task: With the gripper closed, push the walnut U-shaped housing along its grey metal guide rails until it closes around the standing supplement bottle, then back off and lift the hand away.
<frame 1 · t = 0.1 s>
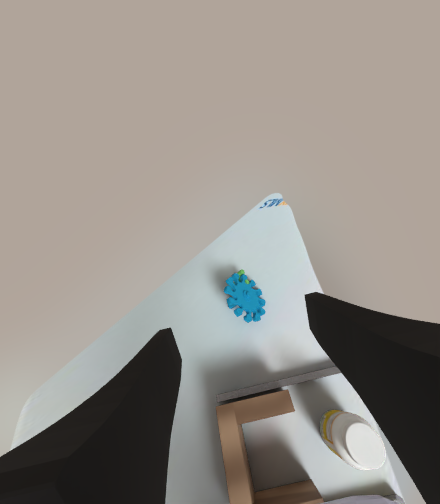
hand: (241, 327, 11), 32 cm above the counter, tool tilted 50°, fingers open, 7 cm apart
guide rails: (295, 441, 32), on the counter
housing: (265, 454, 29), point 3 cm above the counter, slide at 10.0 cm
gear: (245, 301, 45), on the counter
supplement bottle: (338, 431, 32), on the counter
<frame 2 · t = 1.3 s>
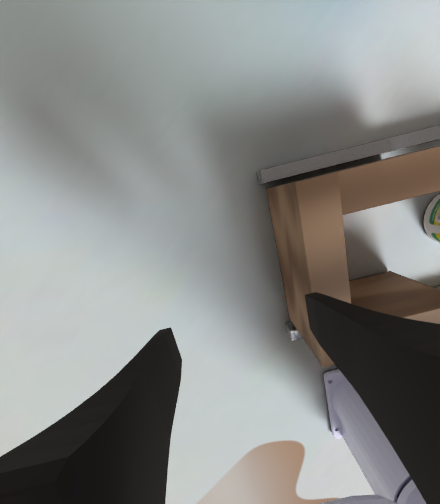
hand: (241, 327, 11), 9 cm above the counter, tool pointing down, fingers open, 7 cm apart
guide rails: (381, 232, 20), on the counter
housing: (356, 253, 17), point 3 cm above the counter, slide at 10.0 cm
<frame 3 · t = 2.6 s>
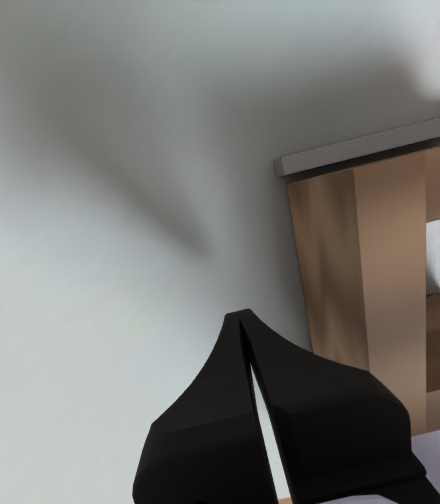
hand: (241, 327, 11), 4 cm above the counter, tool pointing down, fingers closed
guide rails: (436, 242, 15), on the counter
housing: (416, 274, 12), point 3 cm above the counter, slide at 10.0 cm
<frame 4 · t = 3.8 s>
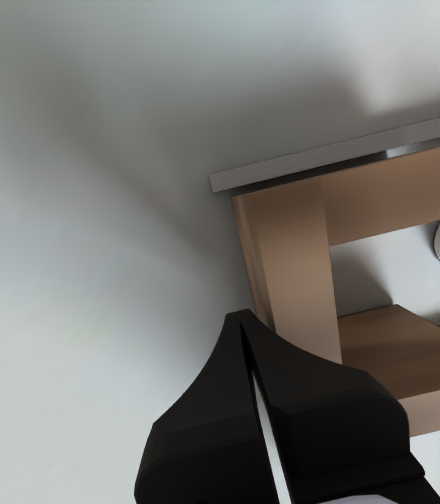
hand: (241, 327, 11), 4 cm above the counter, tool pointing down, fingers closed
guide rails: (378, 256, 15), on the counter
housing: (352, 290, 12), point 3 cm above the counter, slide at 9.4 cm, touching gripper
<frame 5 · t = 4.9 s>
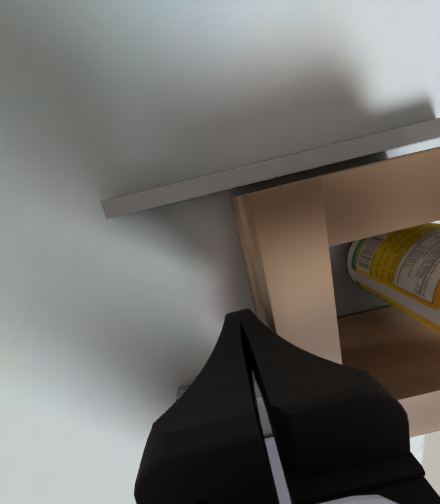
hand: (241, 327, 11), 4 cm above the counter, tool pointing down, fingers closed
guide rails: (292, 277, 15), on the counter
housing: (352, 290, 12), point 3 cm above the counter, slide at 3.1 cm, touching gripper
supplement bottle: (378, 255, 15), on the counter
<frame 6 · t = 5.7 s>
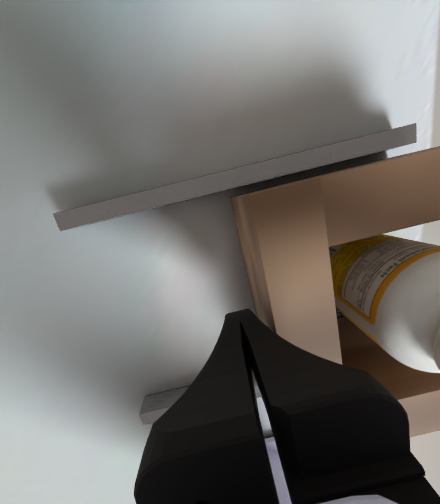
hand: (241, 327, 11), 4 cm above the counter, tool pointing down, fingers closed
guide rails: (255, 286, 15), on the counter
housing: (352, 290, 12), point 3 cm above the counter, slide at 0.4 cm, touching gripper
supplement bottle: (341, 264, 16), on the counter
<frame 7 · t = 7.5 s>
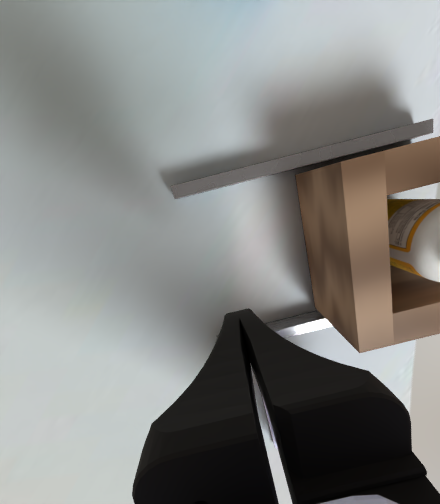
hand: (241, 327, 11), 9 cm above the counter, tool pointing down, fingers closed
guide rails: (307, 245, 20), on the counter
housing: (390, 239, 17), point 3 cm above the counter, slide at 0.2 cm
supplement bottle: (372, 228, 20), on the counter
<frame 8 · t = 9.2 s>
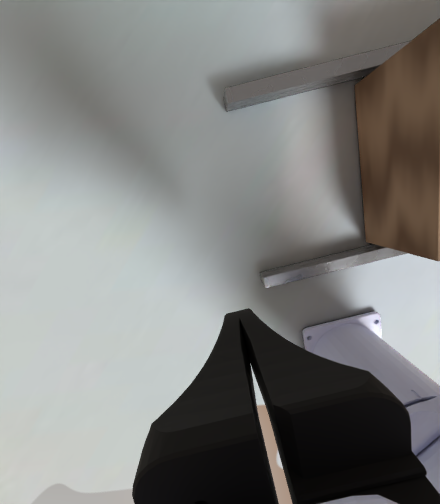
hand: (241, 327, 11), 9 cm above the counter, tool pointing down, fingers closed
guide rails: (361, 170, 19), on the counter
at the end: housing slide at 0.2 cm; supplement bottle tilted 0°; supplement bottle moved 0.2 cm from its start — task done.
